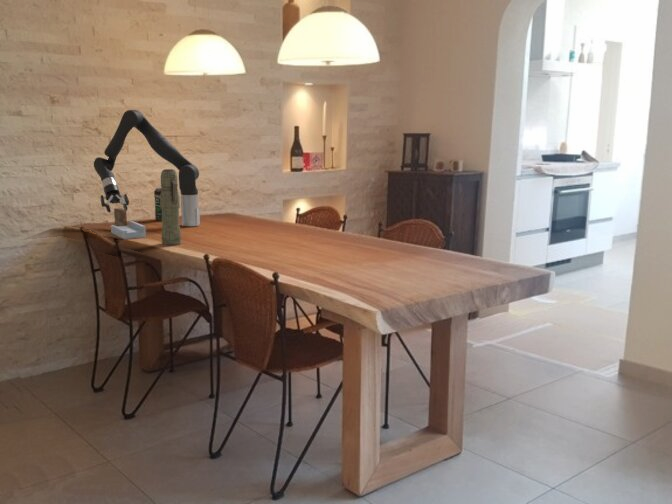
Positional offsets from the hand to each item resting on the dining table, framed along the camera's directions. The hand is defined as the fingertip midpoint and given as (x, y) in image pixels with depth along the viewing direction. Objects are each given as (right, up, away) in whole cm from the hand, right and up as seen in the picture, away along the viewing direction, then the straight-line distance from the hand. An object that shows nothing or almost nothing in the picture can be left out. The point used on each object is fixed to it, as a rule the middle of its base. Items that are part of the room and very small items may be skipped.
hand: (117, 211), depth 360 cm
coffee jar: (+16, -3, +33) cm, 36 cm away
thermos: (+38, -18, -40) cm, 59 cm away
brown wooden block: (+2, -10, -2) cm, 10 cm away
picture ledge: (+11, -13, -17) cm, 24 cm away
